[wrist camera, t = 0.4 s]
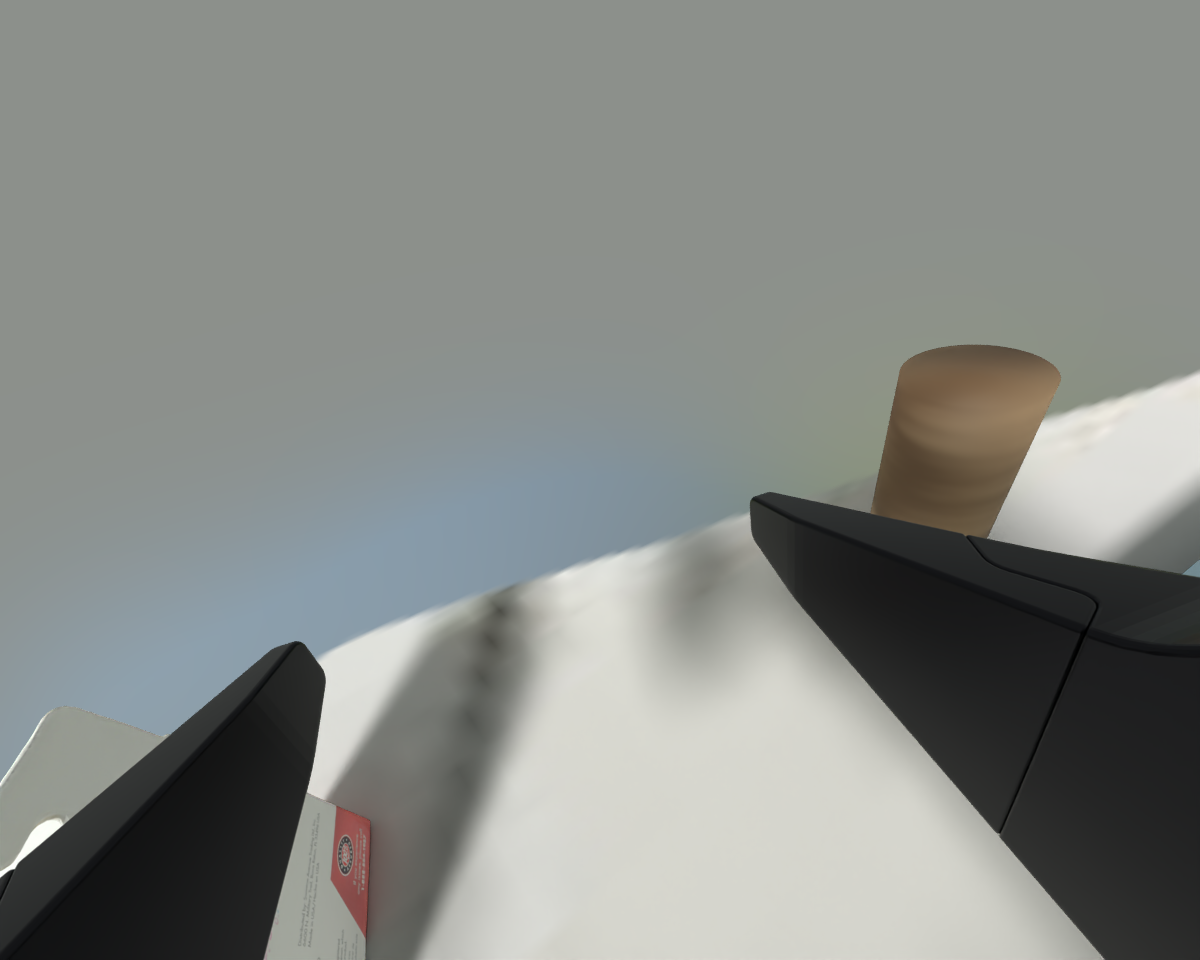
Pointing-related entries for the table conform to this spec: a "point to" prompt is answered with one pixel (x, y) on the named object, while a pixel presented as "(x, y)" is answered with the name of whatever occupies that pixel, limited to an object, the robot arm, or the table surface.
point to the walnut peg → (961, 434)
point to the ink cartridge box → (110, 748)
